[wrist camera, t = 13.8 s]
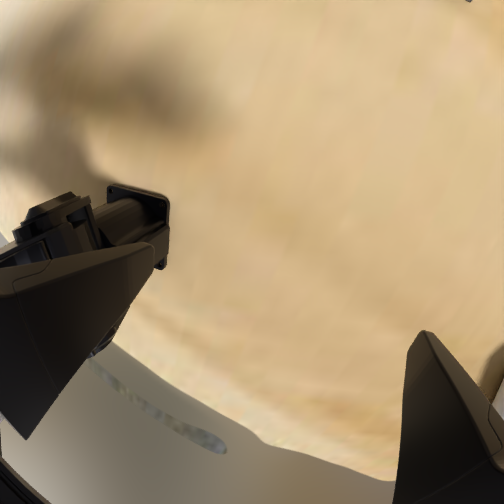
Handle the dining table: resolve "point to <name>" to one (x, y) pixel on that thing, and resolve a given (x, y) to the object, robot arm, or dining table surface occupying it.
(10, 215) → the dining table surface
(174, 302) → the dining table surface
